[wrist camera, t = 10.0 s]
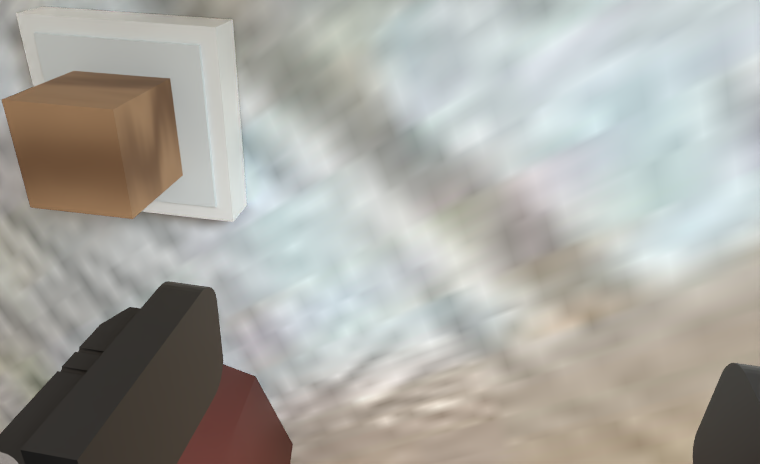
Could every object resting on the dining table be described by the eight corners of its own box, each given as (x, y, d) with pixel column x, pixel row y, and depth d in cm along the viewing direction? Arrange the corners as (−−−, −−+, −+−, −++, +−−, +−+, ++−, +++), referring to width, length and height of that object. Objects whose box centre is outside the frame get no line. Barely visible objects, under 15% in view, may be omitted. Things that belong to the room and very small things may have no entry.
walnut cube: (73, 70, 36) (1, 99, 31) (170, 78, 35) (113, 109, 30) (93, 166, 39) (30, 207, 34) (182, 175, 38) (132, 218, 33)
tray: (43, 6, 37) (13, 13, 35) (232, 19, 36) (214, 27, 33) (82, 187, 43) (58, 203, 41) (247, 205, 41) (232, 223, 39)
